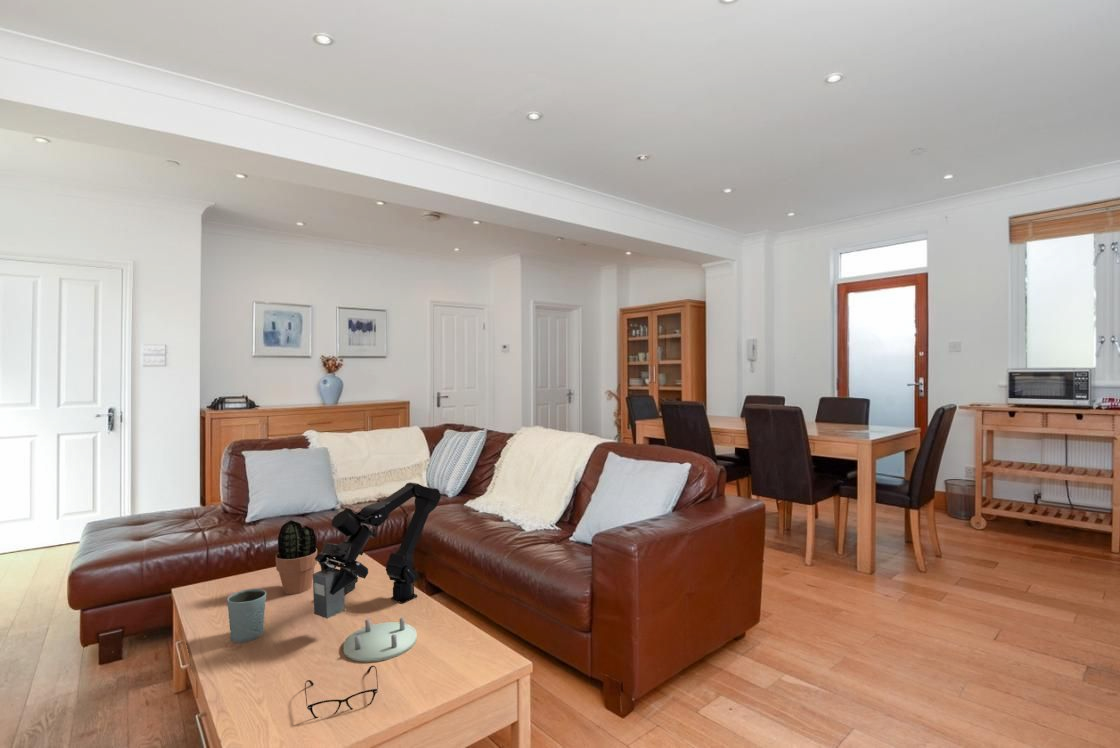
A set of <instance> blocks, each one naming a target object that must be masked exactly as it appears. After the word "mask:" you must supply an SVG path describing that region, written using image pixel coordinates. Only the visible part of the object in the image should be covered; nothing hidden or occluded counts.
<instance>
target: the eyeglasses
mask: <svg viewBox="0 0 1120 748" xmlns="http://www.w3.org/2000/svg"><path fill="white" fill-rule="evenodd" d="M372 668H374V669H375V675H376V678H378V672H377V671H378V669H377V667H376V666H375V665H371V666H369V667H368V669H367V671H366V673H367V674H369V673H370V672H371V669H372ZM307 682H308V683H309V684H310V686H311V687H313V686H314V685H315V684H314V682H313V681H312V680H310V679H308V680H306V681H305V683H304V694H305V705H306V709H307V710H309V712H310V713H311V714H312V717H313V718H315V719H318V718H319V716H316V714H315V713H314V711H313V707H314V706H317V705H321V704H325V703H331V702H336V703H337V702H338V706H337V709H336V710H335V712H334V713H333V715H335V714H337V713H338V711H339V710H340V707H341V706H342V703H345V704H346V707H347V708H349V709H350V710H354V708H353V707H351V705H350V703H349V700H350V699H351V698H354V697H357V696H359V695H361V694H366V693H371V692H372V697H371V700H370V702H369V703H368V704H367V705H368V706H369V705H372V703H373V701H374V698H375V696H376V694H377V693H378V692H379V683H378V680H376V688H373V689H367V690H363V691H360V692H357V693H354V694H352V695H350V696H348V697H346V698H344V699H327V700H326V699H325V700H322V701H317V702H314V703H312V704H309V705H308V699H307V698H308V697H307V688H306V687H307Z"/></svg>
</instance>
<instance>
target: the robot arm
mask: <svg viewBox="0 0 1120 748" xmlns="http://www.w3.org/2000/svg"><path fill="white" fill-rule="evenodd" d="M441 496H442V495H441V492H440V489H438V488H435V487H429V486H424V485H422V484H420V483H417V482H410V481H409V482H408V483H407V482H406V484H405V485H404V486H402V487H401V488H399V489H398V490H396V491H394V492H393V493H392V494H391V495H388V496H387V497H386V498H384V499H383V500H381V501H377V502H373V503H370V504H368V505H366V506H364V507H362V508H361V510H359V511H357V512H356V513H355V512H354V511H353V510H352V509H351V508H349V507H344V509H343V510H342V511H339V512H338V513H337V514H336V515H334V517H333V518H332V519H331V520H332V521H331V526H332V527H333V528H334V529H335V530H337V531H338V532H339V533H341V534H342V535H343V536H344V537H347V538H346V539H345V541H344V540H342V541H340V542H339V543H338V544H337V543H331V542H324V545H323V547H322V551H321V552H317V556H316V557H315V560H316V561H317V563H318V565H320V569H321V570H320V571H322V570H324V569H327V568H330V567H332V568H336V569H337V568H340V569H339V570H340V575H339V577H338V579H337V581H336V583H335V584H334V586H333V588H332V590H331V592H330V594H332V595H334V594H335V593H337V592H338V591H339V590H341V589H342V588H343V587H345V586H346V585H348V584H349V583H351V582H352V581H354V580H355V579H358V580H359V578H362V579H366V578H367V577H368V574H369V568H368V567H367V566H365V565H364V564H362V563H361V562H360V561H358V560H357V558H359V556H363V554H364V551H363V549H364V547H365V546H366V544H367V542H368V540H369V539H370V538H373V539H376V538H377V533H376V529H375V528H371V527H380V526H382V524H384V523H385V522H386V521H387V520H388V519H389V516H390V514H391V513H393V512H394V511H395V510H396V509H397V508H399V507H401V506H402V505H404V504H405V503H406V502H407V501H410V500H411V499H412V498H414V508H415V509H414V512H413V515H412V516H411V519H410V523H409V525H408V527H407V529H406V531H405V533H404V537H403V539H402V541H401V543H400V546H399V549H398V550H396V552H390V554H389V556H388V560H387V561H386V563H385V565H386V567H385V571H386V575H387V576H388V577H389V580H390V581H393V587H392V596H391V597H390V600H392V601H395V602H399V603H401V604H404V603H406V602H409V601H411V600H413V599H415V598H416V597H418V594H417V593H415V582H417V581H418V579H419V573H418V572H417V571H416V570H414V569H413V568H414V565H415V560H414V552H415V550H416V547H417V545H418V542H419V540H420V537H421V535H422V533H423V529H424V527H425V524H426V523H427V519H428V517H429V514H430V513H432V511H434V510H435V509H436V508H437V505H438V504H439V502H440V500H441V498H442V497H441ZM369 526H371V527H369Z"/></svg>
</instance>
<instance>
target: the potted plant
mask: <svg viewBox="0 0 1120 748" xmlns="http://www.w3.org/2000/svg"><path fill="white" fill-rule="evenodd" d="M277 549H278V550H277V551H278V552H277V553H276V554H275V566H276V567H275V568H276V571H277V572H278V574H279V577H280V581H281V585H282V590H283V592H284V593H285V594H288V595H297V594H301V593H305V592H306V591H308V590H310V589H311V588H312V586H313V574H314V573H315V567H316V565H317V564H318V561H316V560H315V557H316V556H317V554H318V548H317V536H316V534H315V531H314V528H311V527H310V526H308V525H305V526H303V527H302V524H301V523H300V522H297V521H294V520H292V519H291V520H289V521H287V522H286V523H284V524H282V526H281V527H280V531H279V533H278V537H277Z"/></svg>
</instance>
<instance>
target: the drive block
mask: <svg viewBox="0 0 1120 748" xmlns="http://www.w3.org/2000/svg"><path fill="white" fill-rule="evenodd" d="M339 575H340V569H338V568H337V567H336V568H332V567H330V568H327V569H324V570H322V571H321V570H320V571H317V572H314V573H313V579H312V588H313V591H312V593H313V614H314V615H315V616H318V617H322V618H324V619H327V620H328V619H329V618H331V617H334V616H336V615H338V614H340V613H342V612H344V611H345V609H346V607H345V606H346V605H345V594H344V587H343V588H342V589H341V590H339V591H338V592H337V593H335V594H334V595H332V594H330V592H331V590H332V588H333V586H334V584H335V583H336V581H337V579H338V577H339Z"/></svg>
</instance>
